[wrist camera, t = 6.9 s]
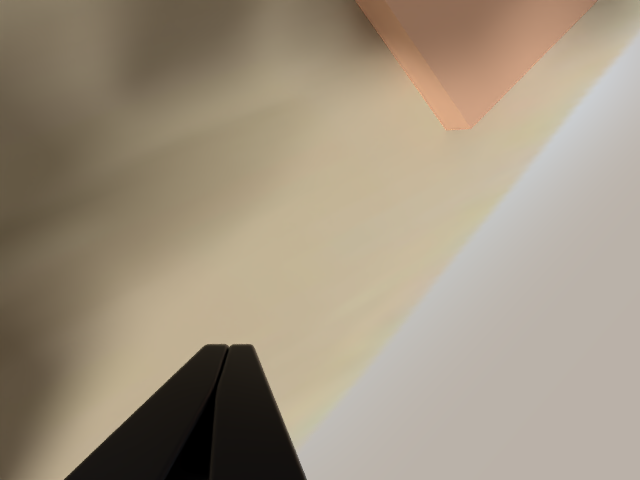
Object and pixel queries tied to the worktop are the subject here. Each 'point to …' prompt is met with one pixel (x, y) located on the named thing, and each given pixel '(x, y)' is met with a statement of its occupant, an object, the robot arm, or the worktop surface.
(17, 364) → the worktop surface
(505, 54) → the block
